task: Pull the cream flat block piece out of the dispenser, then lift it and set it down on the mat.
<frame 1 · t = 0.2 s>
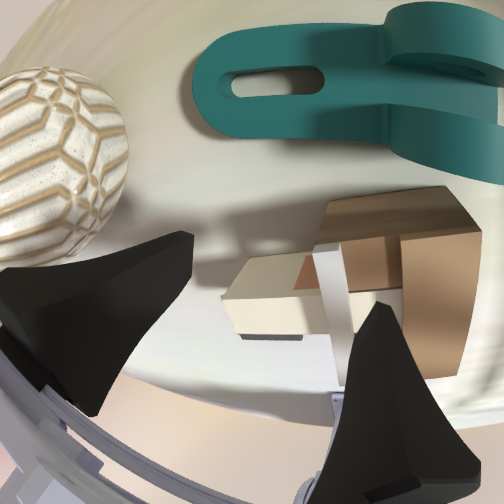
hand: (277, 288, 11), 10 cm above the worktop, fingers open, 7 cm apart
vase: (96, 142, 22), on the worktop
bracket: (347, 83, 14), on the worktop
cream flat block piece: (329, 266, 21), on the worktop
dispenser: (395, 260, 18), on the worktop
mat: (264, 316, 25), on the worktop
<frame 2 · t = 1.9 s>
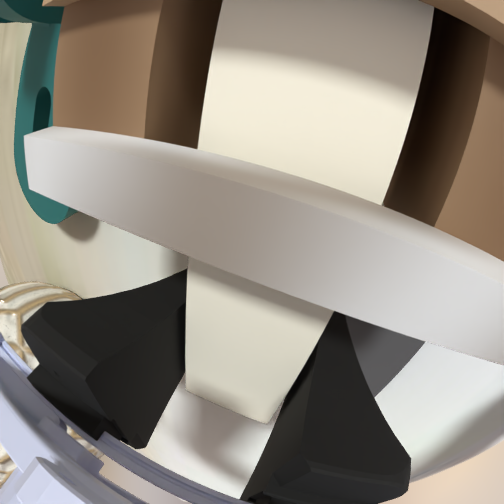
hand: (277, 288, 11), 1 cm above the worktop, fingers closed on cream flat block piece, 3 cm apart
vase: (89, 326, 23), on the worktop
bracket: (88, 61, 10), on the worktop
cream flat block piece: (311, 186, 10), on the worktop, touching gripper
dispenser: (344, 50, 7), on the worktop
mat: (358, 348, 12), on the worktop
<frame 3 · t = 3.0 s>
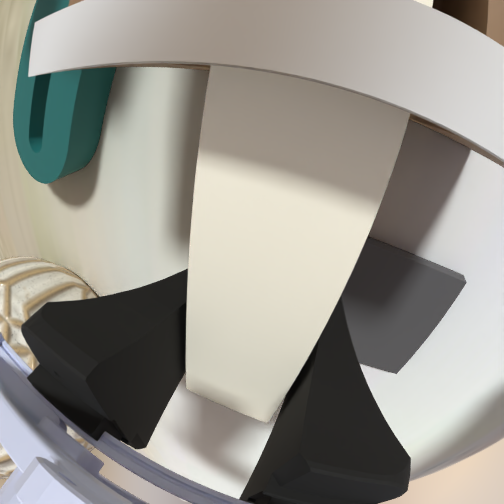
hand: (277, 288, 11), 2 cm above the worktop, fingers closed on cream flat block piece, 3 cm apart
vase: (84, 308, 21), on the worktop
bracket: (94, 19, 9), on the worktop
cream flat block piece: (311, 184, 10), on the worktop, touching gripper
mat: (382, 311, 11), on the worktop
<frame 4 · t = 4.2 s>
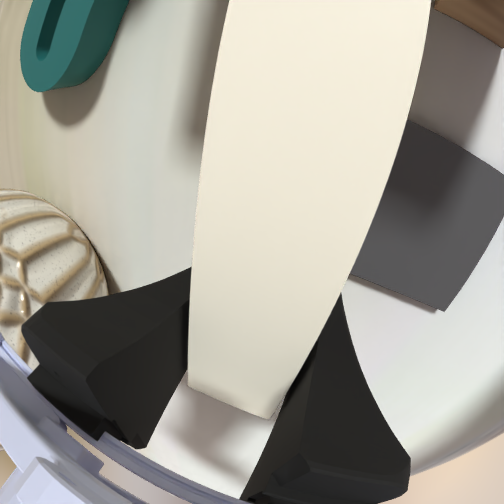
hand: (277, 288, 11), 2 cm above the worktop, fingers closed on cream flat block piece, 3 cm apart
vase: (71, 258, 19), on the worktop
cream flat block piece: (312, 183, 10), on the worktop, touching gripper
mat: (431, 222, 9), on the worktop
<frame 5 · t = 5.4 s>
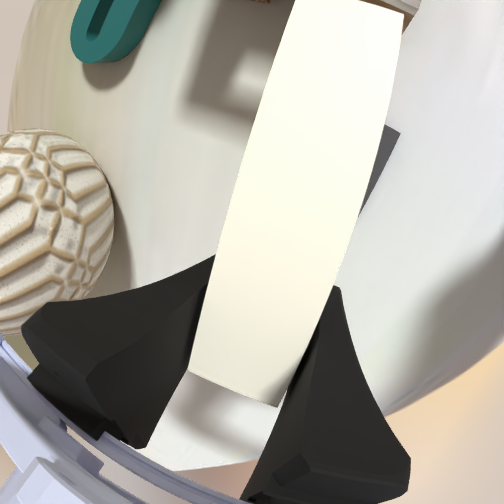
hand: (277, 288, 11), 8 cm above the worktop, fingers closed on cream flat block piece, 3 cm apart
vase: (85, 193, 24), on the worktop
cream flat block piece: (311, 195, 12), point 5 cm above the worktop, tilted 20°, touching gripper
mat: (336, 158, 15), on the worktop
when the fingers open (3 cm above the worktop, at t = 6.5 s): cream flat block piece stays where it is, resting on mat.
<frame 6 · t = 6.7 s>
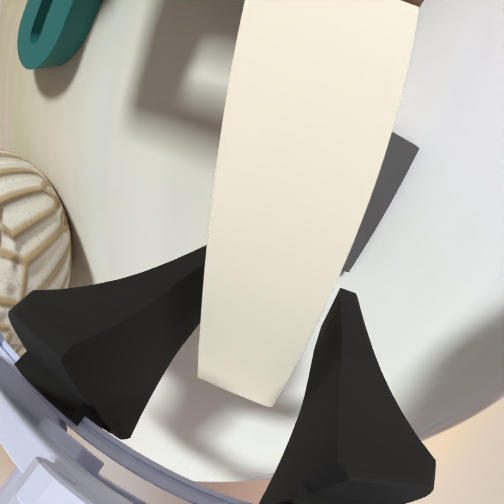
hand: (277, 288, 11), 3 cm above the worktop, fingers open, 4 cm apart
vase: (45, 215, 20), on the worktop
cream flat block piece: (310, 191, 11), resting on mat
mat: (327, 182, 11), on the worktop
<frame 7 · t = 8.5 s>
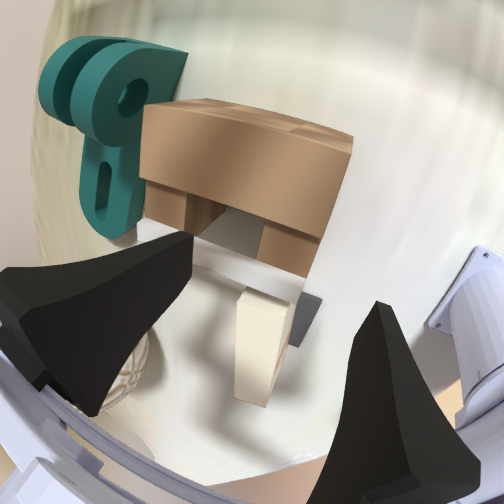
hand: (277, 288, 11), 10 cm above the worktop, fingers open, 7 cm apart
vase: (119, 306, 34), on the worktop
bracket: (128, 143, 22), on the worktop
cream flat block piece: (275, 318, 24), resting on mat
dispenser: (263, 169, 19), on the worktop
mat: (283, 313, 24), on the worktop
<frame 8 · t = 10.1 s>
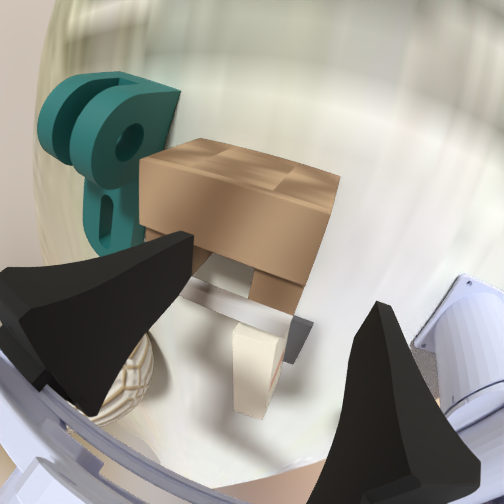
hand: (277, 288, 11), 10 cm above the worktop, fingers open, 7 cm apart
vase: (125, 323, 36), on the worktop
bracket: (127, 175, 24), on the worktop
cream flat block piece: (270, 339, 26), resting on mat
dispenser: (255, 207, 20), on the worktop
mat: (278, 334, 26), on the worktop
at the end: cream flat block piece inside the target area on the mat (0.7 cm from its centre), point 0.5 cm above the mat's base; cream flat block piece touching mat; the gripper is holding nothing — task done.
